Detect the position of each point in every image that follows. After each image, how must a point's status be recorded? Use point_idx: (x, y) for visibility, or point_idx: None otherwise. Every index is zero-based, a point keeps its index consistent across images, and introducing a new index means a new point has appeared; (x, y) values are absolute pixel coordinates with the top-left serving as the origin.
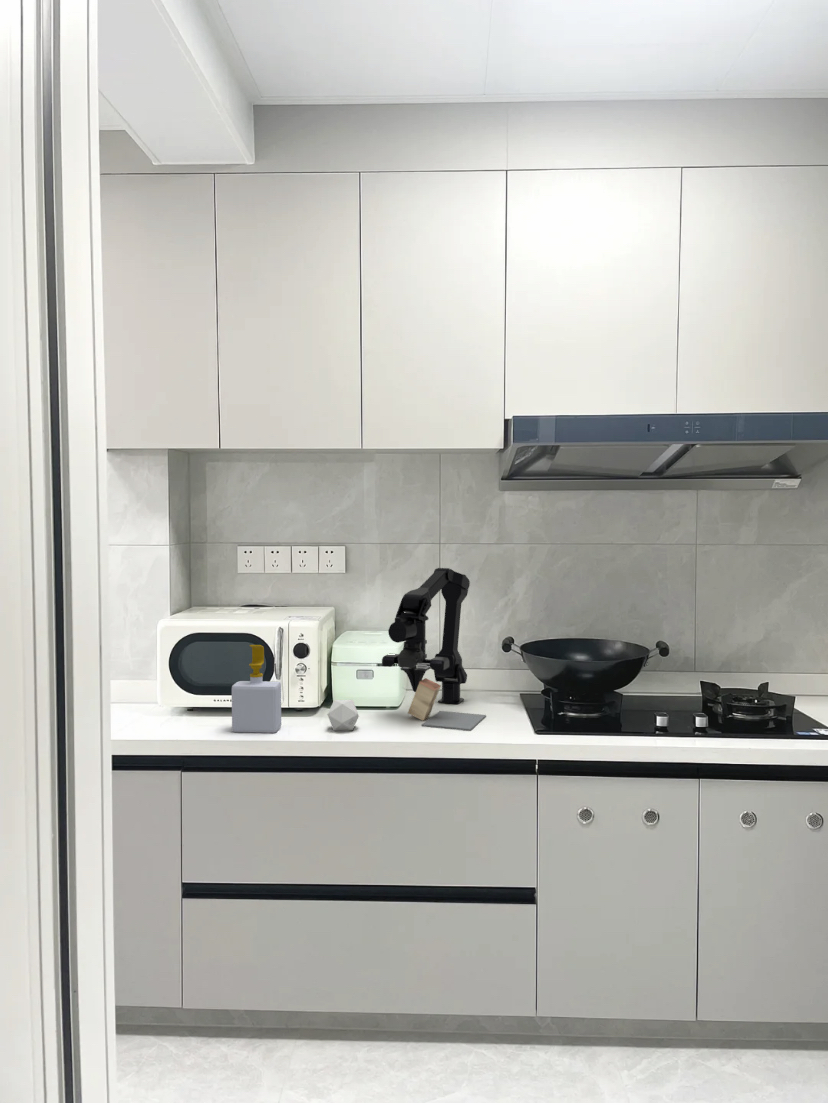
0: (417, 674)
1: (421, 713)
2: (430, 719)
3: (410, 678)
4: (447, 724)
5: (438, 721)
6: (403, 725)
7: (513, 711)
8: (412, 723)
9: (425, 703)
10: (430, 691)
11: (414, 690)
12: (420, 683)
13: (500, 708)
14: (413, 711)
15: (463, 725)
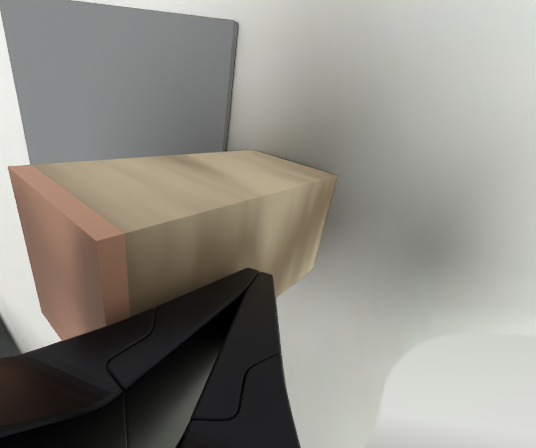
0: (55, 385)
1: (247, 156)
2: (211, 146)
3: (255, 377)
4: (112, 59)
5: (166, 112)
6: (352, 11)
7: (17, 304)
8: (300, 80)
9: (192, 163)
10: (79, 174)
11: (258, 274)
12: (109, 224)
13: (58, 336)
14: (296, 169)
15: (46, 57)
